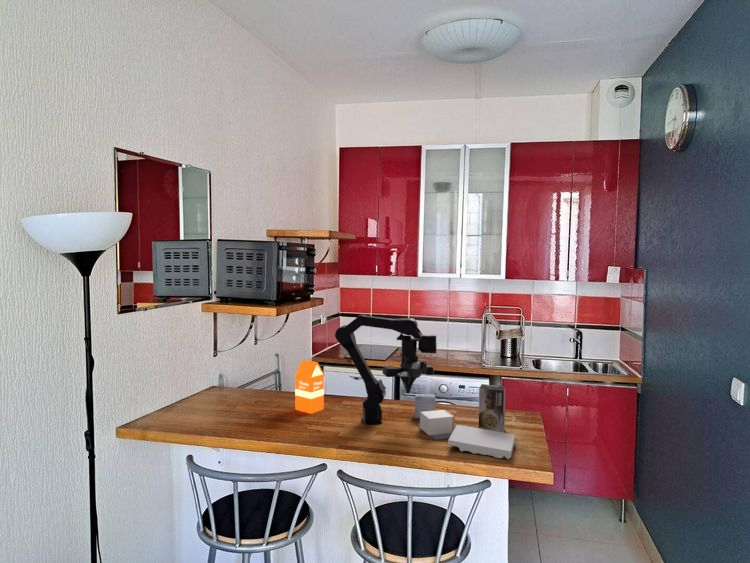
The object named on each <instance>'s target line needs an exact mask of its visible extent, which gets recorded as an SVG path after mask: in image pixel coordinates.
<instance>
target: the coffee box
mask: <svg viewBox="0 0 750 563" xmlns="http://www.w3.org/2000/svg"><path fill="white" fill-rule="evenodd" d="M480 384H481V385H480V386H479V388H478V427H477V428H479V429H485V430H491V431H497V432H503V433H505V425H506V424H505V421H506V420H505V417H506V416H505V415H506V414H505V413H506V412H505V411H506V386H505V385H496V384H485V383H480Z"/></svg>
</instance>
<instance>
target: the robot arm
mask: <svg viewBox="0 0 750 563" xmlns="http://www.w3.org/2000/svg"><path fill="white" fill-rule="evenodd" d="M418 325H419V323H418V321H417V320H416V319H415V318H413V317H405V318H404V317H403V318H387V317H380V316H374V315H373V316H372V315H366V314H359V315H357V316H356V318H354V319H353V320H352V321H350V323H348V324H344V325H342V326H340V327H338V328H337V329H336V331H335V333H334V337H335V339H336V341H337V342H338V343H339V344H340V346H341V347H342V348H343V349H345V351H347V353H348V356H349V357H350V359H351V361H352V362H353V364H354V366H355V368H356V370H357V372H358V374H359V376H360V378H361V379H362V381H363V383H364V386H365V391H366V394H367V396H366V397H365V399H364V400H363V402H362V417H361V421H362V422H363V423H364V424H365V425H376V424H377V425H378V424H383V421H382V420H383V409H382V405H380V404H381V403H383V401H384V399H385V397H386V395H387V391H386V389H387V387H386V386H385V385H384V384H383V380H382V379H381V378H380V379H377V378H375V376H374V375H373V371H372V370H371V368H370V367H369V365H368V363H367V361H366V359H365V358H364V355H363V354H362V352H361V350H360V348H359V347H358V344H357V338H356V335H355V332H356V331H357V330H358V329H360V328H361V327H370V328H376V329H377V328H378V329H383V330H384V329H385V330H391V331H395V332H398V333H399V335H398V336H397V338H396V340H397V341H401V348H400V349H401V353H400V354H399V356H400V364H399V368H396V367H395V366H393V365H386V366H384V367H383V368H382V375H384V376H386V377H387V378H395V377H399V378H400V380H401V382H402V385H403V388H404V390H405V393H406V394H410V393H411V390H412V388H413V384H414V382H415V380H416V379H418V378H420V377H421V376H422V373H424V374H425V376H433V375H435V370H434V367H433V366H431V365H429V364H428V363H427V362H426V361H419V356H418V354H417V352H418V351H419V352H421V354H433V355H435V354H437V351H438V350H437V349H438V348H437V346H438V342H437V335H436V334H432V335H429V334H428V335H427V334H426V335H425V334H423V333H422V331H421V330H420V329H419V326H418ZM417 346H418V347H417ZM417 348H418V349H417ZM417 350H418V351H417Z"/></svg>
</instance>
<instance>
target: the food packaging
mask: <svg viewBox="0 0 750 563" xmlns="http://www.w3.org/2000/svg"><path fill="white" fill-rule="evenodd" d="M456 425H457V426H456V427H455V429H454V431H453V433H452V434H451V436H450V438H449V439H447V442H448V443H447V445H448V446H453V447H457V448H458V449H459V451H460V452H465V451H466V452H469V453H471V454H474V455H475V454H480V455H482V456H493V458H496V459H497V458H498V459H502V458H505V459H507V460H510V459H511V458H512V454H513V450H514V449H513V448H514V444H515V439H516V434H513V433H510V432H509V433H507V432H504V433H503V432H497V431H491V430H485V429H479V428H478V427H471V426H467V425H461V424H456Z"/></svg>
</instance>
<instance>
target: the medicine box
mask: <svg viewBox="0 0 750 563" xmlns="http://www.w3.org/2000/svg"><path fill="white" fill-rule="evenodd" d="M425 411H436V395H435V394H429V393H415V395H414V418H415V419H420V412H425Z"/></svg>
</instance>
